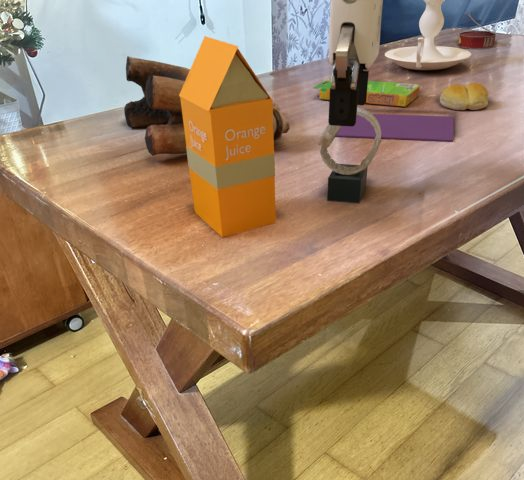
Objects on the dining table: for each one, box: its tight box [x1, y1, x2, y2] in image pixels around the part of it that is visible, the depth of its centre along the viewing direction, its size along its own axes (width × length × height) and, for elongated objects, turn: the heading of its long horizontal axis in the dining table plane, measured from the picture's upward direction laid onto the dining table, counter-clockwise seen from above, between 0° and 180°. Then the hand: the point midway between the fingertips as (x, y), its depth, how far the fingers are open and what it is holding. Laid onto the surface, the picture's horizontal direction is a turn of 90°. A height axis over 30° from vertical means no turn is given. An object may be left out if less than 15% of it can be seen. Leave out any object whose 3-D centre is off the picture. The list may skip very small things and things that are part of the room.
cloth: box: [335, 113, 455, 142], centre depth 97 cm, size 20×14×1 cm
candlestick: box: [384, 0, 472, 71], centre depth 125 cm, size 21×25×28 cm
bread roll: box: [439, 82, 489, 111], centre depth 105 cm, size 8×9×4 cm
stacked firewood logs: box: [123, 55, 290, 157], centre depth 95 cm, size 13×31×25 cm
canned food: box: [457, 11, 497, 50], centre depth 153 cm, size 11×10×10 cm
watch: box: [317, 106, 382, 204], centre depth 71 cm, size 6×8×11 cm
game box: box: [312, 78, 421, 108], centre depth 113 cm, size 3×10×20 cm
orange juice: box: [179, 36, 277, 238], centre depth 64 cm, size 8×9×20 cm
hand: (348, 114), depth 68 cm, fingers open, 9 cm apart
